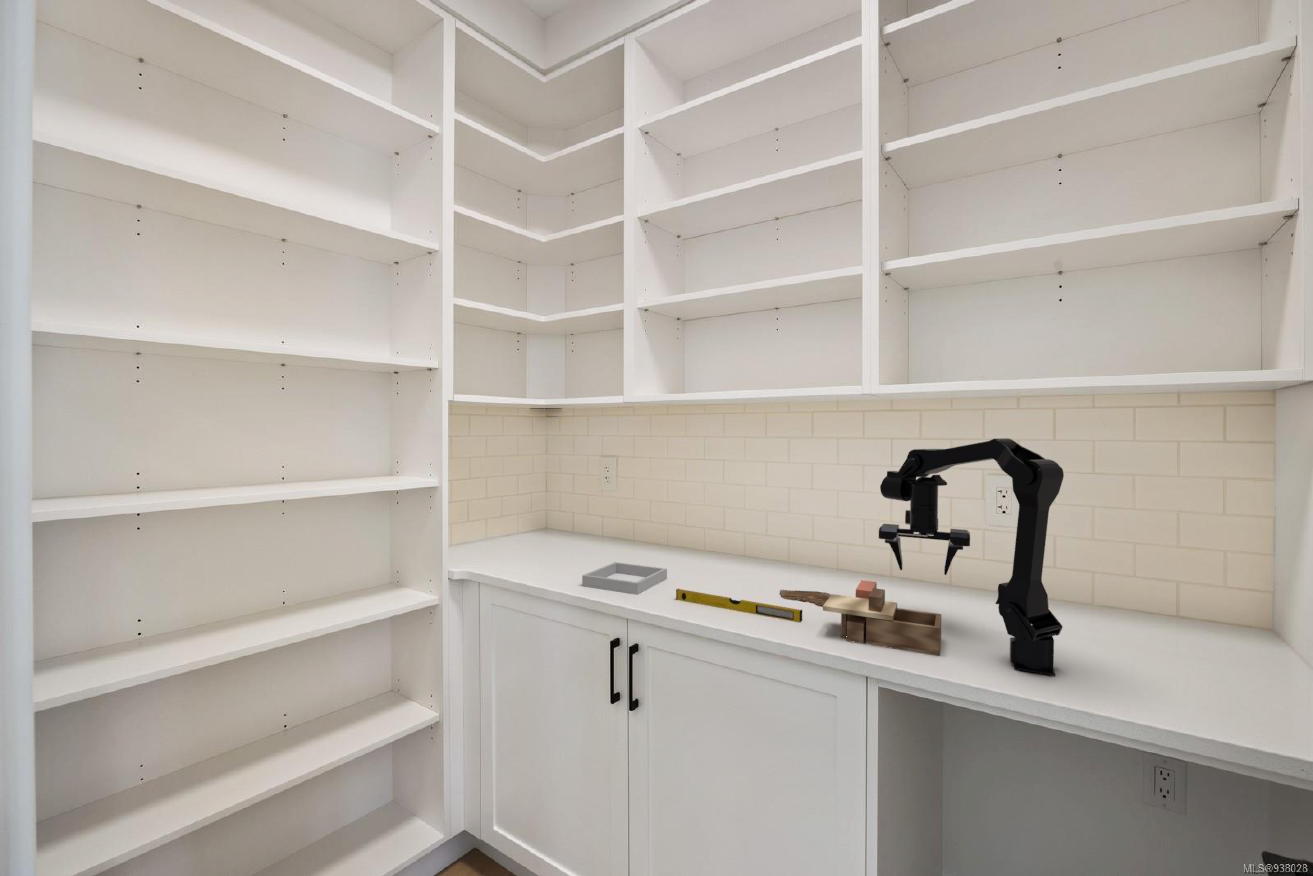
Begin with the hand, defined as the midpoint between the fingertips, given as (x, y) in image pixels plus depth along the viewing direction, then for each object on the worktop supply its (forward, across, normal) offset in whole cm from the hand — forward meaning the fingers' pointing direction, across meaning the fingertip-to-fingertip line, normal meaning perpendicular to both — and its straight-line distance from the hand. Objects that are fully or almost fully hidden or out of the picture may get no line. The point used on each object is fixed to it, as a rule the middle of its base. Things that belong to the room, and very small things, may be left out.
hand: (922, 572), depth 135 cm
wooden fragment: (+13, +24, -10) cm, 29 cm away
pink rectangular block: (+8, +12, +1) cm, 15 cm away
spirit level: (+13, +42, +8) cm, 45 cm away
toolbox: (+13, +6, +7) cm, 15 cm away
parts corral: (+13, +79, -1) cm, 80 cm away
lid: (+7, +12, +12) cm, 18 cm away
